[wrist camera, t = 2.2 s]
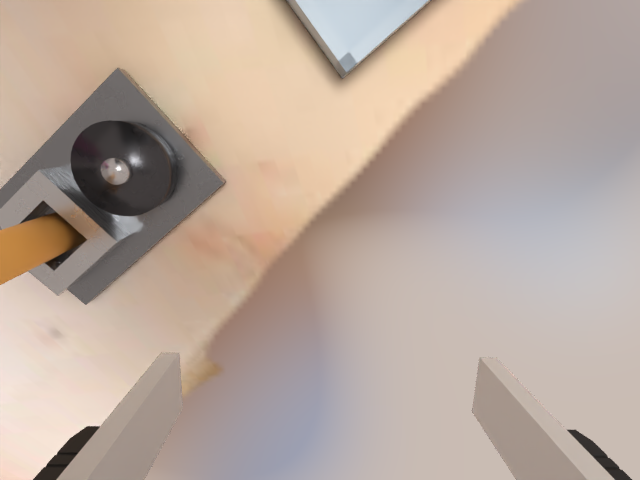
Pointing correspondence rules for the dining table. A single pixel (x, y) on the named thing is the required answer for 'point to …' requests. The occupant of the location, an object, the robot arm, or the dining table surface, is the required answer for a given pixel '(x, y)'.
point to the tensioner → (109, 185)
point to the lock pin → (35, 244)
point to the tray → (353, 26)
